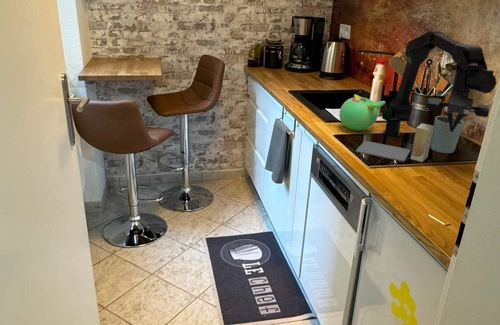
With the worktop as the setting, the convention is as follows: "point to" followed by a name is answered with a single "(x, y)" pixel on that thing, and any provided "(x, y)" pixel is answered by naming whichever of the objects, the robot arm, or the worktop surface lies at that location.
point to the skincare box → (422, 142)
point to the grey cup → (445, 135)
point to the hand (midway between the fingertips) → (451, 131)
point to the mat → (383, 151)
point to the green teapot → (359, 113)
